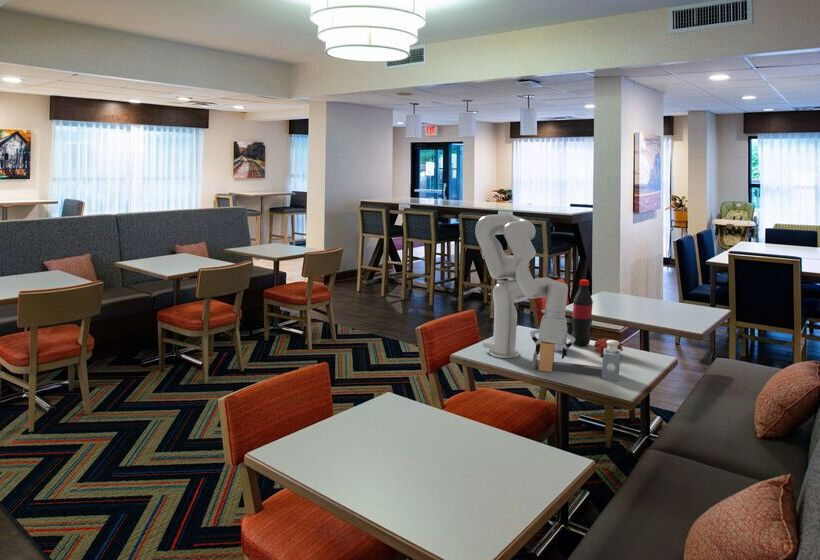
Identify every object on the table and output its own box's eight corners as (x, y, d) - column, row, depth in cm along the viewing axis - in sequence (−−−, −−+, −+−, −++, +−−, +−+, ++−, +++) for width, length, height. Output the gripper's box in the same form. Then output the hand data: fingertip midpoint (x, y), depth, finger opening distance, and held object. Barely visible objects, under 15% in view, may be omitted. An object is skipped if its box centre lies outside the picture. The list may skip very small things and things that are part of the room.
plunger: (605, 355, 224) (606, 342, 223) (605, 351, 228) (606, 339, 227) (618, 356, 223) (619, 343, 222) (618, 353, 227) (619, 340, 226)
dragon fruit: (590, 356, 256) (619, 364, 252) (592, 350, 248) (621, 358, 245) (595, 339, 259) (623, 346, 255) (596, 332, 251) (626, 339, 248)
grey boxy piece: (601, 379, 224) (603, 354, 222) (601, 372, 232) (603, 347, 230) (618, 381, 222) (620, 355, 220) (618, 374, 230) (620, 349, 228)
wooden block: (538, 370, 232) (540, 343, 230) (540, 364, 238) (542, 338, 236) (551, 371, 230) (553, 344, 228) (553, 366, 237) (555, 339, 235)
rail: (532, 369, 234) (533, 354, 233) (534, 365, 238) (534, 351, 237) (604, 378, 225) (605, 362, 224) (604, 373, 230) (605, 359, 229)
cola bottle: (587, 342, 271) (592, 278, 266) (591, 348, 263) (596, 281, 257) (568, 341, 272) (573, 277, 266) (571, 347, 264) (576, 281, 258)
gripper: (530, 313, 228) (526, 354, 232) (577, 319, 223) (572, 362, 226) (534, 308, 235) (530, 349, 239) (579, 314, 229) (574, 356, 233)
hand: (550, 355), depth 233 cm, fingers open, 9 cm apart
